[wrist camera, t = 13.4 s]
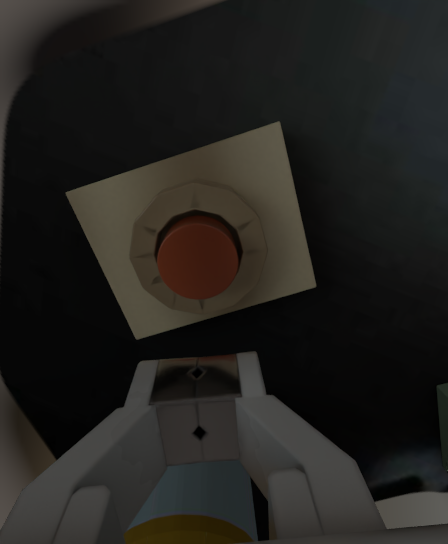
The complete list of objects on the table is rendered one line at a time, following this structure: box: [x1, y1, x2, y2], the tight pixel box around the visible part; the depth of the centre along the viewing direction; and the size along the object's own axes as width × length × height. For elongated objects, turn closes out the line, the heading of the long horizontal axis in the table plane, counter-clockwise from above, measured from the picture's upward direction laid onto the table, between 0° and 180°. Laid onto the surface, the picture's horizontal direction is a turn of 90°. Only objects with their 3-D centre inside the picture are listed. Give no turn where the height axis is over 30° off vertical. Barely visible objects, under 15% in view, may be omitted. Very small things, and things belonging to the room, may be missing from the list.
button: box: [157, 215, 238, 300], centre depth 15 cm, size 4×4×2 cm
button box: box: [66, 122, 316, 339], centre depth 18 cm, size 11×9×4 cm
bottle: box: [123, 460, 258, 544], centre depth 17 cm, size 7×7×15 cm
